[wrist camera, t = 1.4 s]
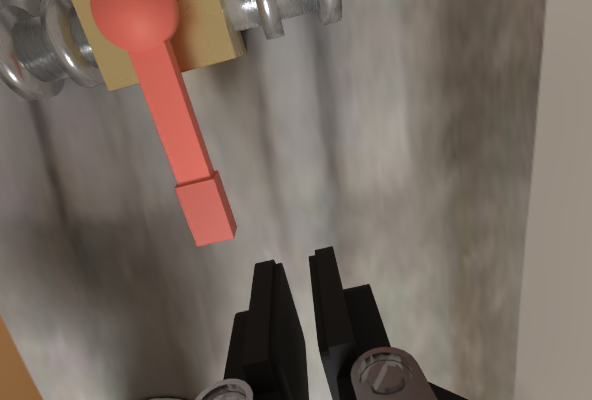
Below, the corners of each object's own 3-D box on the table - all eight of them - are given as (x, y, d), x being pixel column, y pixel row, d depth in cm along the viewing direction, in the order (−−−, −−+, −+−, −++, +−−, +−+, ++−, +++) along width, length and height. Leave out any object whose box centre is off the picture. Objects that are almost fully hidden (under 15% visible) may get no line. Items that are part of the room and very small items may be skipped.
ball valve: (336, 29, 30) (354, 27, 22) (63, 101, 32) (-11, 123, 24) (316, -79, 28) (328, -124, 20) (20, 5, 29) (-81, -6, 21)
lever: (248, 224, 27) (246, 235, 25) (190, 237, 27) (184, 249, 25) (163, -42, 21) (154, -47, 19) (90, -21, 21) (75, -25, 20)
